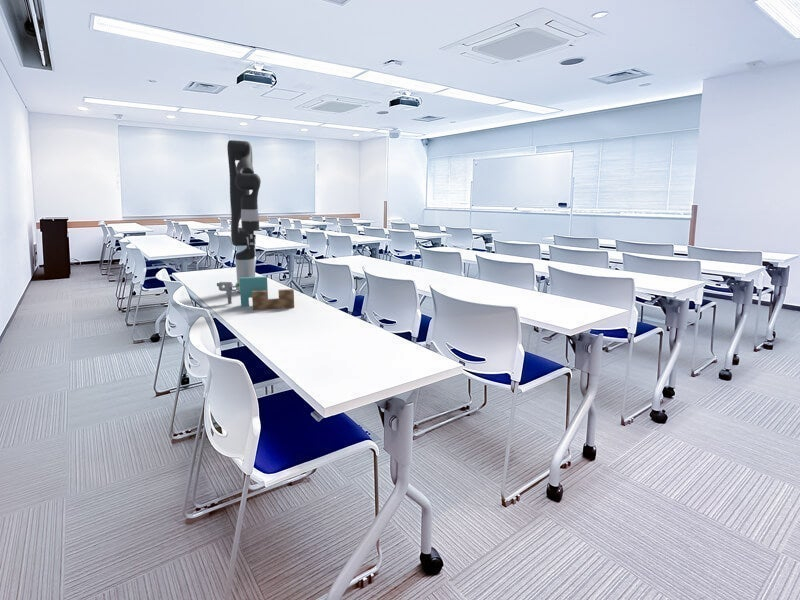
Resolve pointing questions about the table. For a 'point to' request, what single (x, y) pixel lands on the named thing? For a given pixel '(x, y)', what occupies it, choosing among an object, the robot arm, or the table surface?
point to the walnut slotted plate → (273, 300)
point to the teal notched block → (251, 287)
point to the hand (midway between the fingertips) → (252, 256)
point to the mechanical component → (228, 288)
